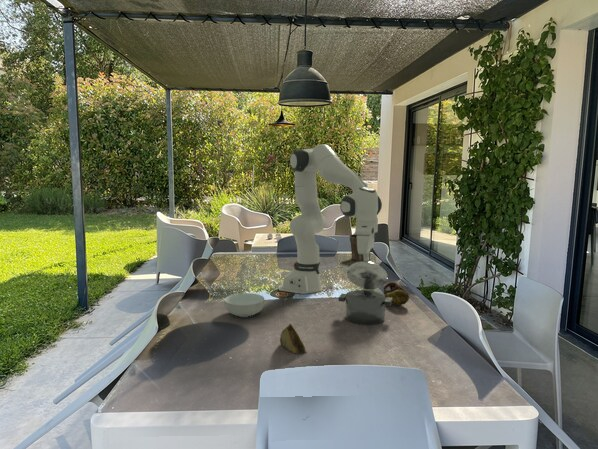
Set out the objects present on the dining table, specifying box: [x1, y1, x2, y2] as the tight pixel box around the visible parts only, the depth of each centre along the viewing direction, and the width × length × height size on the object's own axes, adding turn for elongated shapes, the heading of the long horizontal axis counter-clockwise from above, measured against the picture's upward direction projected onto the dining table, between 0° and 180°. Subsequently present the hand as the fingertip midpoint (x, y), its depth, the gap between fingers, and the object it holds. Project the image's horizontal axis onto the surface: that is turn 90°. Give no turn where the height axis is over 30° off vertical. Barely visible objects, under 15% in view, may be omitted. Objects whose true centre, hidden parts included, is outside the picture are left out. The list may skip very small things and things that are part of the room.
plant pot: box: [349, 233, 372, 262], centre depth 299 cm, size 16×16×16 cm
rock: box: [279, 323, 307, 354], centre depth 155 cm, size 11×9×10 cm
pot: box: [338, 288, 392, 326], centre depth 185 cm, size 21×17×10 cm
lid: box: [346, 260, 388, 290], centre depth 187 cm, size 17×17×3 cm
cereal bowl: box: [224, 292, 265, 318], centre depth 191 cm, size 17×17×7 cm
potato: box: [385, 289, 410, 306], centre depth 201 cm, size 8×13×8 cm, turn 10°
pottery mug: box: [382, 281, 404, 295], centre depth 215 cm, size 12×10×8 cm
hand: (366, 260), depth 183 cm, fingers closed
